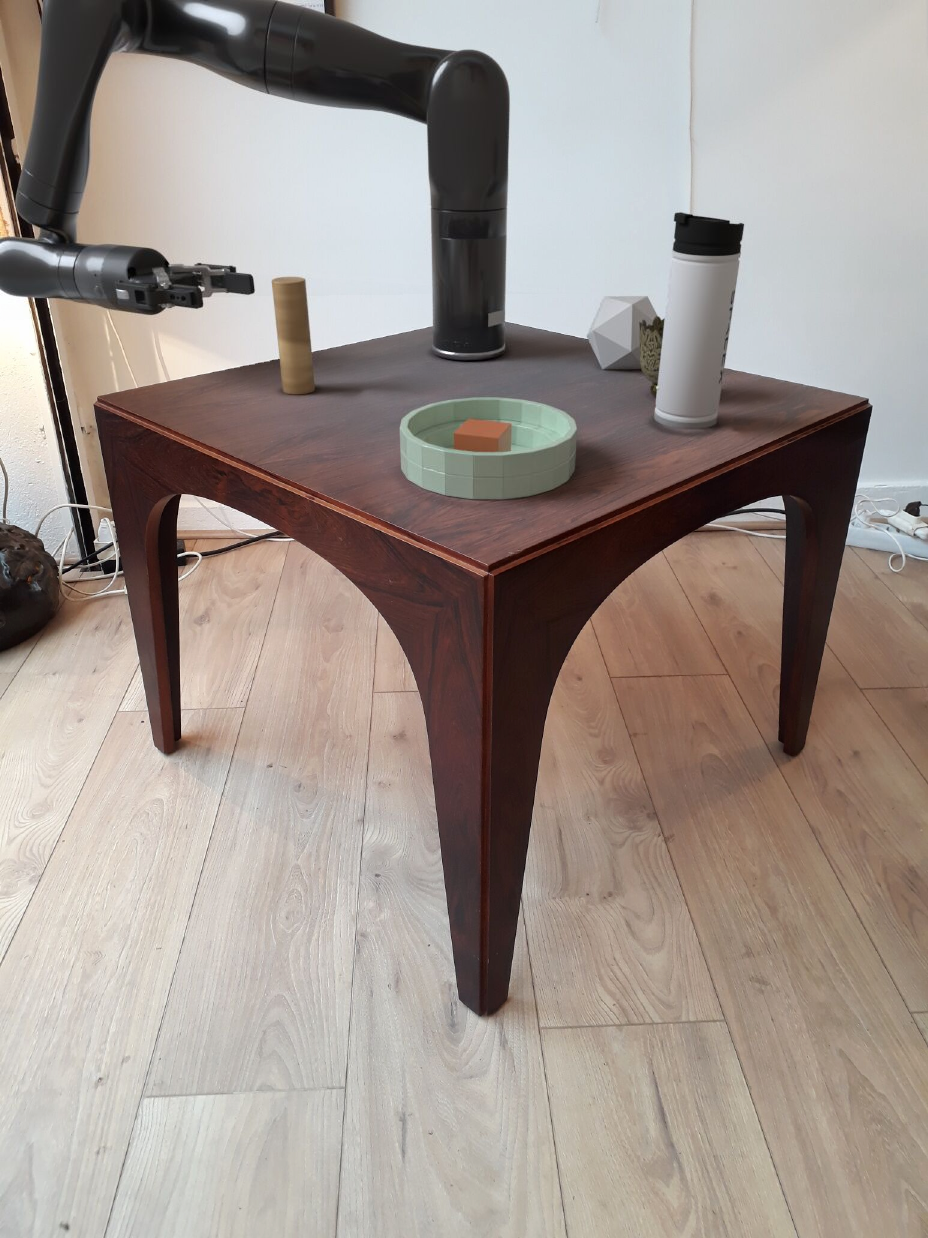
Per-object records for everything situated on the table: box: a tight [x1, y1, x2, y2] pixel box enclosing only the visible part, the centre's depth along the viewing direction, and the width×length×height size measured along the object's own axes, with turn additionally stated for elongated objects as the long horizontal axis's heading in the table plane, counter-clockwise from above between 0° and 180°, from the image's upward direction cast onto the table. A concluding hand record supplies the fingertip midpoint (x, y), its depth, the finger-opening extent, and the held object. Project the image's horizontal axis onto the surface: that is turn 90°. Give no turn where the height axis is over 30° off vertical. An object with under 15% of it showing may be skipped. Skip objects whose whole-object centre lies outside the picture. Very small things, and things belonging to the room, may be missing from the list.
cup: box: [639, 315, 665, 398], centre depth 99 cm, size 8×7×8 cm
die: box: [586, 295, 658, 370], centre depth 110 cm, size 8×9×10 cm
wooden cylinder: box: [271, 276, 316, 396], centre depth 100 cm, size 4×4×12 cm
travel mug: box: [653, 212, 745, 430], centre depth 88 cm, size 6×7×20 cm
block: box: [454, 419, 512, 452], centre depth 79 cm, size 4×4×4 cm
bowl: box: [399, 396, 578, 501], centre depth 81 cm, size 15×15×4 cm
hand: (227, 291), depth 102 cm, fingers open, 8 cm apart
